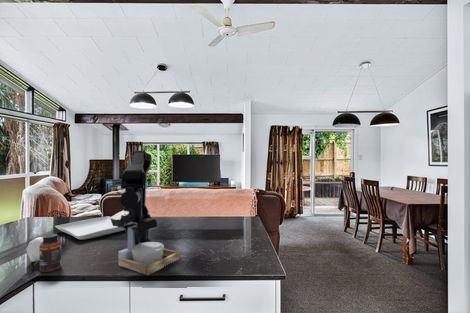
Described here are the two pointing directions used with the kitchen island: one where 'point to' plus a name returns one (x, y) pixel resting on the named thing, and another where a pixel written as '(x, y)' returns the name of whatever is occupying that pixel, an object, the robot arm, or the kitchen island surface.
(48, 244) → the supplement bottle
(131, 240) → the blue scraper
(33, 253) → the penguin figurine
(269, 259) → the kitchen island surface
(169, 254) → the oak corral
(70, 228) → the square plate
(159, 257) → the ramekin
